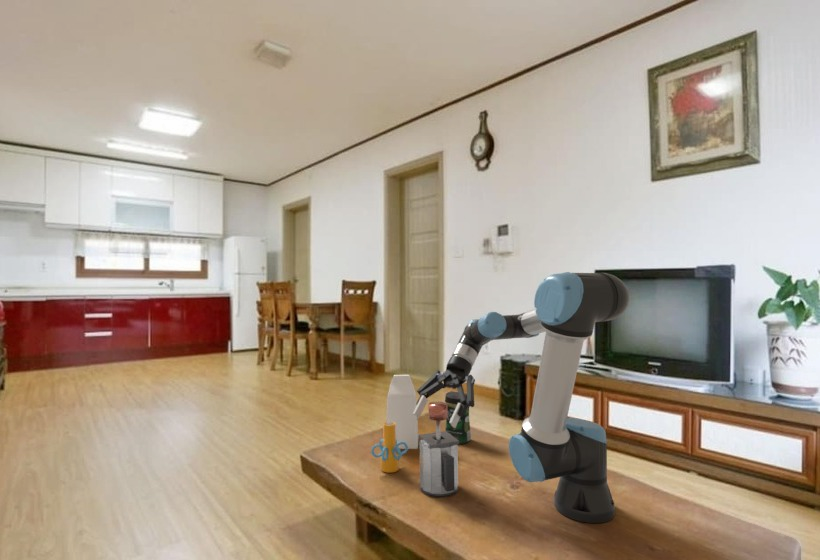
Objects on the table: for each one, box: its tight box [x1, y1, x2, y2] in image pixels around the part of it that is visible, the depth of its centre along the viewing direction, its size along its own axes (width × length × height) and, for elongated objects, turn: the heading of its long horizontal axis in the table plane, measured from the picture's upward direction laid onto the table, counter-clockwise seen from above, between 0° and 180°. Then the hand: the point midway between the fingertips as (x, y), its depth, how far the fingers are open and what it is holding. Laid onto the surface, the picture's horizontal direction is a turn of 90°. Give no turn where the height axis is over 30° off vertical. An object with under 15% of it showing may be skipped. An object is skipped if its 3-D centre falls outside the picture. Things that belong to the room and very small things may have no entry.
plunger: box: [428, 401, 448, 440], centre depth 129 cm, size 6×6×22 cm
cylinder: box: [370, 421, 409, 474], centre depth 143 cm, size 12×10×15 cm
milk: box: [385, 374, 419, 450], centre depth 166 cm, size 12×12×26 cm
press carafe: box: [418, 430, 460, 499], centre depth 127 cm, size 14×11×15 cm
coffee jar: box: [444, 390, 472, 445], centre depth 168 cm, size 10×8×19 cm
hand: (433, 420), depth 127 cm, fingers open, 13 cm apart
